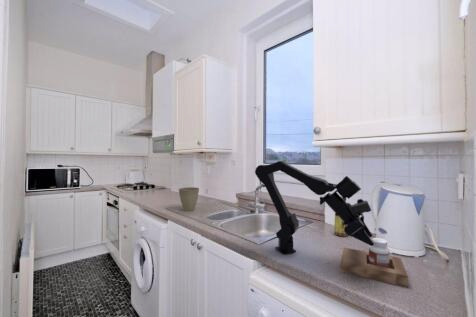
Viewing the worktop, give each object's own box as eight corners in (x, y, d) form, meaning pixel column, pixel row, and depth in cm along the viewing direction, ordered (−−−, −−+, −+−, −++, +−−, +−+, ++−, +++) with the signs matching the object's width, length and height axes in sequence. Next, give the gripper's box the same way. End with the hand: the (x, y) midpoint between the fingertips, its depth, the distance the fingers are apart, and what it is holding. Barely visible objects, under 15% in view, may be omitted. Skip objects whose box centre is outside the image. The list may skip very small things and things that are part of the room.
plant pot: (186, 206, 174) (186, 186, 173) (202, 208, 168) (202, 188, 168) (174, 211, 160) (174, 189, 160) (191, 213, 154) (191, 190, 154)
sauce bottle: (343, 238, 110) (344, 198, 109) (331, 234, 115) (332, 196, 114) (350, 235, 113) (350, 197, 113) (338, 231, 119) (339, 195, 118)
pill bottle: (366, 265, 82) (367, 236, 82) (385, 268, 80) (386, 238, 80) (371, 274, 76) (371, 242, 76) (391, 277, 74) (392, 244, 74)
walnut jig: (340, 271, 78) (340, 261, 78) (343, 255, 90) (343, 247, 90) (407, 287, 68) (407, 276, 68) (400, 267, 81) (400, 258, 81)
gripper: (356, 196, 73) (395, 236, 68) (357, 189, 89) (388, 220, 84) (330, 216, 77) (365, 255, 72) (335, 206, 93) (364, 237, 88)
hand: (372, 240), depth 79 cm, fingers open, 9 cm apart
